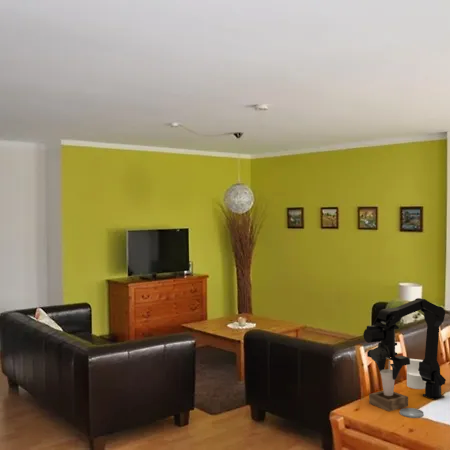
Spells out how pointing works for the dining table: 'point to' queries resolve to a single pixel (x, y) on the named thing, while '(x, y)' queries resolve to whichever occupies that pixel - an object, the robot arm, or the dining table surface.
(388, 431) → the dining table surface
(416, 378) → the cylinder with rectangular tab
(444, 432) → the dining table surface
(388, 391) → the smoothie
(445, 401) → the dining table surface
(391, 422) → the dining table surface
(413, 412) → the coaster
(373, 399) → the holder
